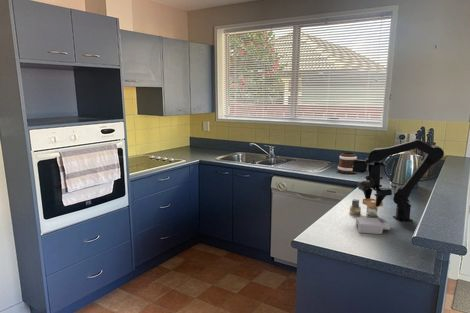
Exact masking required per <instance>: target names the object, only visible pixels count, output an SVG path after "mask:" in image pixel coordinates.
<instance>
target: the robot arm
mask: <svg viewBox="0 0 470 313" xmlns="http://www.w3.org/2000/svg"><path fill="white" fill-rule="evenodd" d="M412 150H419V151H421V152H423V153H424V154H425V155H424V157H423V159H422V161H421V163H420V164H419V165H418V166H417V168H416V169H415V170H414V171H413V172H412V174H411V175H410V177H408V179H407V181H406V182H405V183H404V184H402V185H401V186H400V185H397V186H396V188H395V190H392V189H390V188H389V187H383V185H382V184H381V180H383V178H384V177H383V176H381V175H382V167H386V165H387V164H386V163H385V162H384V159H386V158H388V157H391V156H394V155H397V154H401V153H405V152H408V151H412ZM444 156H445V151H444V150H443V148H442V147H440V146H439V145H431V144H429V143H427V142H424V141H423V140H421V139H419V138H418V139H417V138H415V139H413V140H411V141H407V142H404V143H398V144H396V145H392V146H387V147H376V148H372V149H371V150H370V152H369V155H368V156H367V157H366V158H365V159H358V158H357V159H354V163H353V173H355V174H365V173H366V172H368V173H367V175H366V176H365V179H361V180H358V181H357V182H356V187H357V188H358V190H360V191H362V192H363V195H364V199H367V198H372V192H373V191H375V192H376V193H374V194H373V195H374V196H375V197H376V198H375V199H376V207H378V208H379V207H380V206H379V205H380V204H381V202H382V201H384V199H385V198H386V197H387V196H392V200H393V203H395V204H396V208H395V215H393V216H392V218H394V219H395V220H397V221H399V222H412V221H414V220H413V219H412V218H411V207H412V204H411V201H410V199H409V197H410V195H411V193H412V191H413V189H414V188H415V187H416V185H417V184H418V183H419V182H420V181H421V179H422V178H423V177H424V176H425V174H427V172H428V170H430V168H431V167H433V166H434V165H435V164H437V163H438V162H439V161H440V160H442V158H443V157H444ZM392 192H393V193H392Z"/></svg>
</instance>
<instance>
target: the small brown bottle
mask: <svg viewBox="0 0 470 313" xmlns="http://www.w3.org/2000/svg"><path fill="white" fill-rule="evenodd" d="M351 202H352V203H351V204H350V206H349V214H351V215H354V214H355V215H354V216H357V215H358V216H359V215H361V213H362V212H361V209H362V207H361V206H360V199H355V198H353V199H352V200H351Z"/></svg>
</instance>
